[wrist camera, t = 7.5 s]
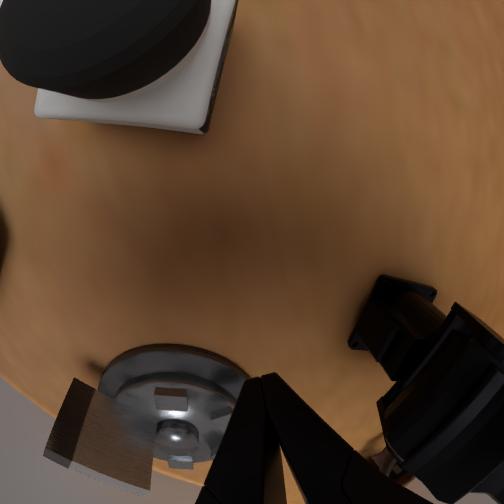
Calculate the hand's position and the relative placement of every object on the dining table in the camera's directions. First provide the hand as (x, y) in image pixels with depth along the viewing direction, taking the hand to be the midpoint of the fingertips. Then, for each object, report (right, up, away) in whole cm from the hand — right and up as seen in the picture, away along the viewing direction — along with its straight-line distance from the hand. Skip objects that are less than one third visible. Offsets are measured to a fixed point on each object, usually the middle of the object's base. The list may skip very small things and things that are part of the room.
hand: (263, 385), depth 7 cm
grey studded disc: (-8, -9, +14) cm, 18 cm away
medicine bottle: (-6, +14, +7) cm, 17 cm away
